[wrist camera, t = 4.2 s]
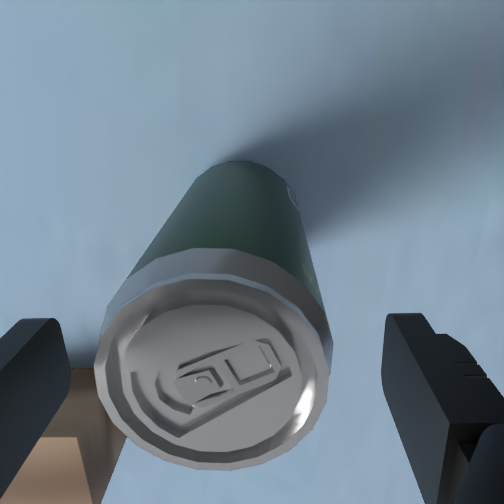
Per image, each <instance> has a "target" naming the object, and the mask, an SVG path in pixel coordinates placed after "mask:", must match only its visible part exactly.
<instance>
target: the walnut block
mask: <svg viewBox="0 0 504 504" xmlns="http://www.w3.org/2000/svg"><path fill="white" fill-rule="evenodd" d="M70 370H71V384H70V389H69V392H68V395H67V397H66V398H65V400H64V401H63V403H62V405H61V406H60V408H59V409H58V411H57V412H56V414H55V415H54V417H53V418H52V420H51V422H50V423H49V425H48V426H47V428H46V429H45V431H44V432H43V434H42V436H41V437H40V439H39V440H38V442H37V443H36V445H35V446H34V448H33V450H32V451H31V453H30V454H29V456H28V457H27V459H26V460H25V462H24V464H23V465H22V467H21V468H20V470H19V471H18V473H17V474H16V476H15V478H14V479H13V481H12V482H11V484H10V485H9V487H8V488H7V490H6V491H5V493H4V495H3V496H2V498H1V499H0V504H101V502H102V499H103V496H104V494H105V491H106V489H107V486H108V484H109V481H110V479H111V476H112V473H113V471H114V468H115V466H116V463H117V461H118V458H119V456H120V453H121V450H122V448H123V445H124V443H125V440H126V435H125V434H124V433H123V432H122V431H121V430H120V429H119V428H118V427H117V426H116V425H115V424H114V423H113V422H112V420H111V418H110V417H109V415H108V413H107V411H106V409H105V408H104V406H103V404H102V402H101V400H100V398H99V397H98V392H97V385H96V379H95V372H94V368H81V369H70Z"/></svg>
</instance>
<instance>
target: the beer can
mask: <svg viewBox="0 0 504 504" xmlns="http://www.w3.org/2000/svg"><path fill="white" fill-rule="evenodd" d="M332 352H333V340H332V336H331V332H330V328H329V324H328V321H327V317H326V313H325V309H324V305H323V301H322V297H321V294H320V290H319V286H318V282H317V278H316V274H315V270H314V266H313V263H312V259H311V255H310V251H309V247H308V243H307V239H306V236H305V232H304V228H303V224H302V220H301V216H300V212H299V209H298V205H297V202H296V198H295V195H294V193H293V192H292V190H291V189H290V188H289V186H288V185H287V183H286V182H285V180H284V179H283V178H281V177H280V176H279V175H277V174H276V173H275V172H273V171H272V170H271V169H269V168H268V167H265V166H262V165H259V164H256V163H253V162H250V161H229V162H226V163H223V164H220V165H216V166H213V167H211V168H210V169H208V170H207V171H206V172H204V173H203V174H202V175H200V176H199V177H197V178H196V180H195V181H194V183H193V184H192V185H191V187H190V188H189V190H188V191H187V193H186V194H185V195H184V197H183V198H182V200H181V201H180V203H179V204H178V205H177V207H176V208H175V210H174V211H173V213H172V214H171V216H170V217H169V218H168V220H167V221H166V223H165V224H164V226H163V227H162V228H161V230H160V231H159V233H158V234H157V236H156V237H155V238H154V240H153V241H152V243H151V244H150V246H149V247H148V249H147V250H146V251H145V253H144V254H143V256H142V257H141V259H140V260H139V261H138V263H137V264H136V266H135V267H134V269H133V270H132V271H131V273H130V274H129V276H128V277H127V279H126V280H125V282H124V283H123V284H122V286H121V287H120V289H119V290H118V292H117V293H116V294H115V296H114V297H113V299H112V300H111V302H110V303H109V305H108V306H107V309H106V313H105V318H104V322H103V326H102V330H101V334H100V341H99V345H98V350H97V354H96V358H95V362H94V372H95V379H96V385H97V392H98V397H99V398H100V400H101V402H102V404H103V406H104V408H105V409H106V411H107V413H108V415H109V417H110V418H111V420H112V422H113V423H114V424H115V425H116V426H117V427H118V428H119V429H120V430H121V431H122V432H123V433H124V434H125V435H126V436H127V437H128V438H129V439H130V440H131V441H132V442H133V443H134V444H135V445H137V446H139V447H140V448H142V449H144V450H146V451H148V452H149V453H151V454H153V455H155V456H157V457H158V458H160V459H162V460H164V461H167V462H171V463H174V464H178V465H182V466H185V467H189V468H193V469H196V470H223V471H232V470H236V469H241V468H246V467H251V466H256V465H260V464H264V463H266V462H268V461H270V460H272V459H274V458H276V457H278V456H280V455H282V454H284V453H286V452H288V451H290V450H291V449H292V448H293V447H294V446H295V445H296V444H298V443H299V442H300V441H301V440H302V439H303V438H304V437H305V436H306V435H307V434H308V433H309V432H310V431H311V430H312V429H313V428H314V426H315V424H316V422H317V420H318V418H319V416H320V414H321V412H322V410H323V408H324V406H325V404H326V402H327V391H328V381H329V376H330V372H331V362H332Z"/></svg>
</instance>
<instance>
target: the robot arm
mask: <svg viewBox="0 0 504 504" xmlns="http://www.w3.org/2000/svg"><path fill="white" fill-rule="evenodd" d="M381 377H382V386H383V391H384V395H385V398H386V400H387V403H388V406H389V408H390V411H391V414H392V416H393V419H394V422H395V425H396V427H397V430H398V433H399V435H400V438H401V441H402V443H403V446H404V449H405V451H406V454H407V457H408V459H409V462H410V465H411V467H412V470H413V473H414V475H415V478H416V481H417V483H418V486H419V489H420V491H421V494H422V497H423V500H424V502H425V504H504V397H503V396H502V395H501V393H500V392H499V391H498V389H497V388H496V387H495V385H494V384H493V383H492V381H491V380H490V379H489V378H487V375H486V373H485V372H484V371H483V369H482V368H481V367H480V365H477V361H476V360H475V359H474V357H473V356H472V355H471V353H470V352H469V351H468V349H467V348H466V347H465V346H464V345H462V344H461V343H459V342H458V341H456V340H455V339H453V338H452V337H451V336H449V335H448V334H436V333H435V332H434V330H433V329H432V327H431V326H430V324H429V323H428V321H427V320H426V318H425V317H424V316H423V314H421V313H390V314H388V315H387V317H386V322H385V332H384V344H383V355H382V367H381ZM70 384H71V370H70V365H69V361H68V357H67V352H66V348H65V344H64V339H63V335H62V331H61V327H60V324H59V322H58V321H57V320H56V319H54V318H31V319H21V320H20V321H18V322H17V323H16V324H15V325H14V326H13V327H12V328H11V329H10V330H9V331H8V332H7V333H6V334H5V335H3V336H2V337H1V338H0V499H1V498H2V496H3V495H4V493H5V491H6V490H7V488H8V487H9V485H10V484H11V482H12V481H13V479H14V478H15V476H16V474H17V473H18V471H19V470H20V468H21V467H22V465H23V464H24V462H25V460H26V459H27V457H28V456H29V454H30V453H31V451H32V450H33V448H34V446H35V445H36V443H37V442H38V440H39V439H40V437H41V436H42V434H43V432H44V431H45V429H46V428H47V426H48V425H49V423H50V422H51V420H52V418H53V417H54V415H55V414H56V412H57V411H58V409H59V408H60V406H61V405H62V403H63V401H64V400H65V398H66V397H67V395H68V392H69V389H70Z"/></svg>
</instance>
